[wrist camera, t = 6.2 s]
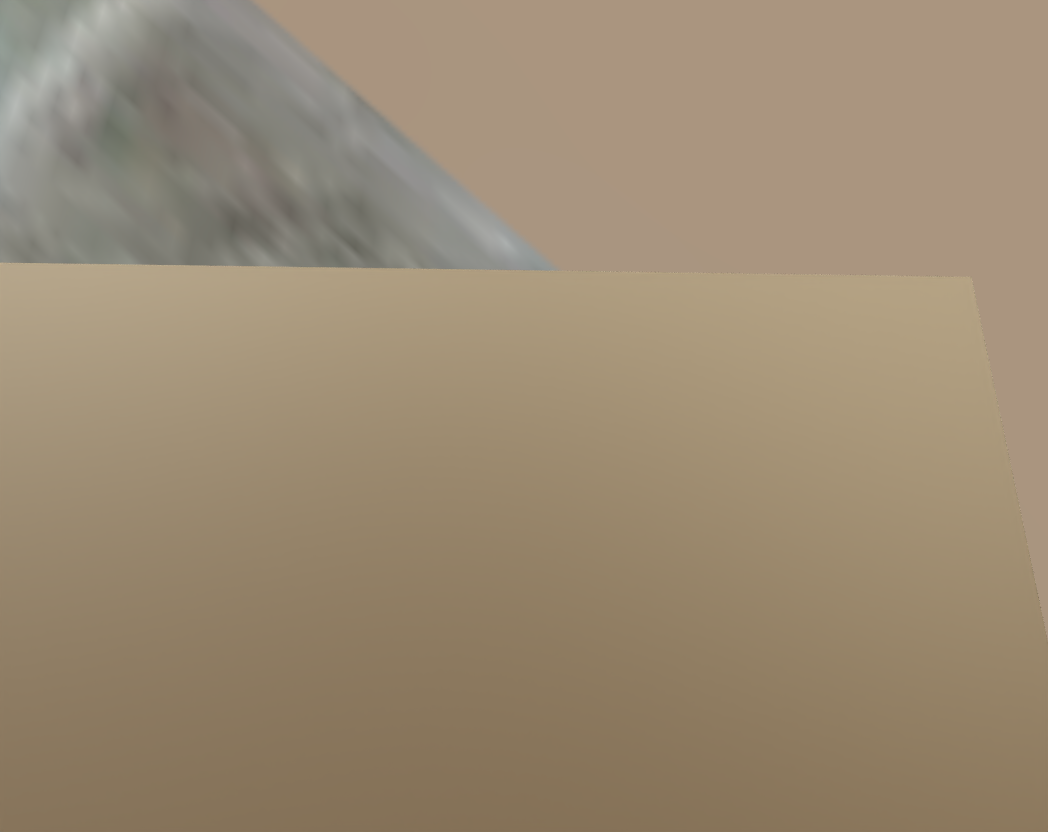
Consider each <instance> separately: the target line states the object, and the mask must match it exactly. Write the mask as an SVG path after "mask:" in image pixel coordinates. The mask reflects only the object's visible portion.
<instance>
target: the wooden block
mask: <svg viewBox="0 0 1048 832" xmlns="http://www.w3.org/2000/svg"><path fill="white" fill-rule="evenodd" d="M0 832H1048V641H1047V636H1046V631H1045V626H1044V621H1043V617H1042V612H1041V607H1040V602H1039V597H1038V593H1037V588H1036V583H1035V579H1034V574H1033V569H1032V564H1031V560H1030V555H1029V550H1028V545H1027V540H1026V536H1025V531H1024V526H1023V521H1022V516H1021V512H1020V507H1019V502H1018V498H1017V493H1016V488H1015V483H1014V478H1013V473H1012V469H1011V464H1010V459H1009V454H1008V450H1007V445H1006V440H1005V435H1004V431H1003V426H1002V421H1001V417H1000V412H999V407H998V402H997V398H996V393H995V388H994V383H993V379H992V373H991V369H990V364H989V359H988V354H987V350H986V345H985V340H984V335H983V330H982V326H981V321H980V316H979V311H978V307H977V302H976V297H975V293H974V288H973V283H972V278H971V277H942V276H941V277H940V276H939V277H938V276H936V277H935V276H872V275H805V274H804V275H803V274H802V275H801V274H736V273H731V274H730V273H666V272H598V271H596V272H595V271H530V270H462V269H393V268H325V267H256V266H187V265H119V264H50V263H0Z"/></svg>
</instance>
